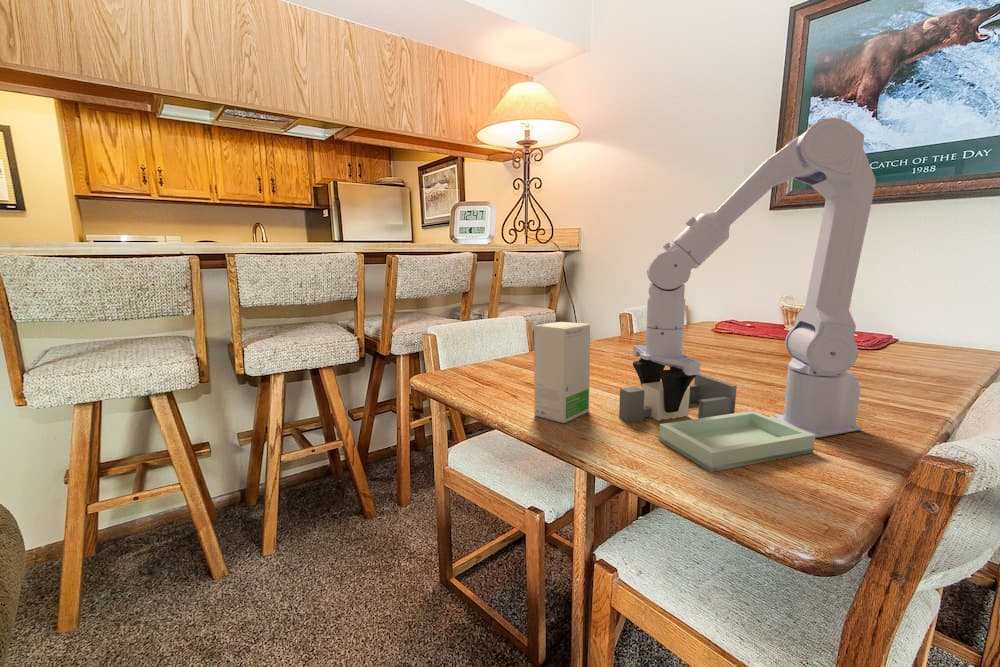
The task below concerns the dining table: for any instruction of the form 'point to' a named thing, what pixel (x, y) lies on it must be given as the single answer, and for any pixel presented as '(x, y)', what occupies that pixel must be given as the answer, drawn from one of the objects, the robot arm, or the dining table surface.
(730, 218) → the robot arm
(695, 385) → the bay
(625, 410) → the joined block pair
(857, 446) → the dining table surface
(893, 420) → the dining table surface
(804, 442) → the tray
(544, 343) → the skincare box
